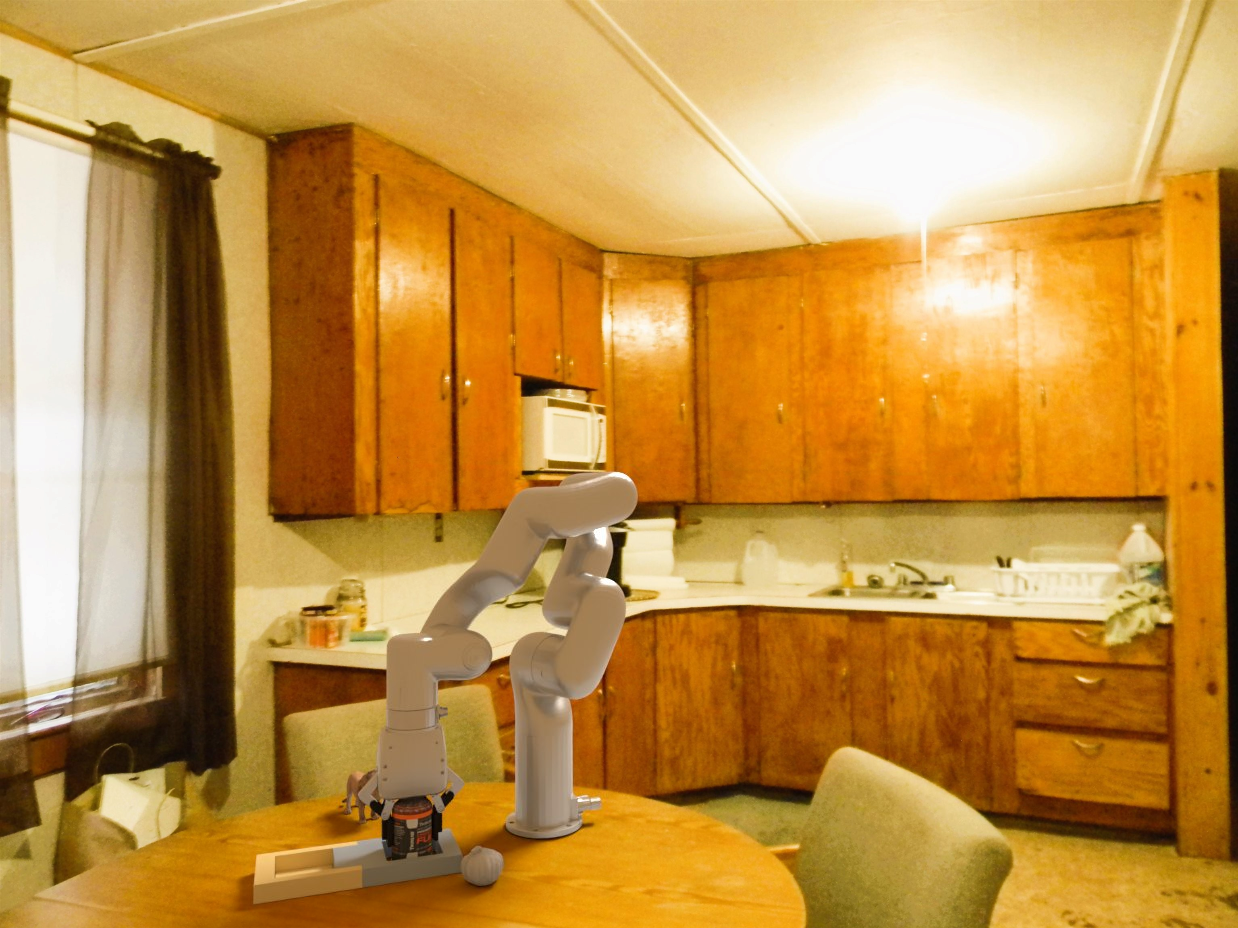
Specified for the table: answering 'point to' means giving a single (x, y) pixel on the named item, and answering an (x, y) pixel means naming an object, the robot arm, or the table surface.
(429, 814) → the supplement bottle
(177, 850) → the table surface
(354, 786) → the lion figurine
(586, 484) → the robot arm
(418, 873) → the beige and grey tray
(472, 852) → the garlic
